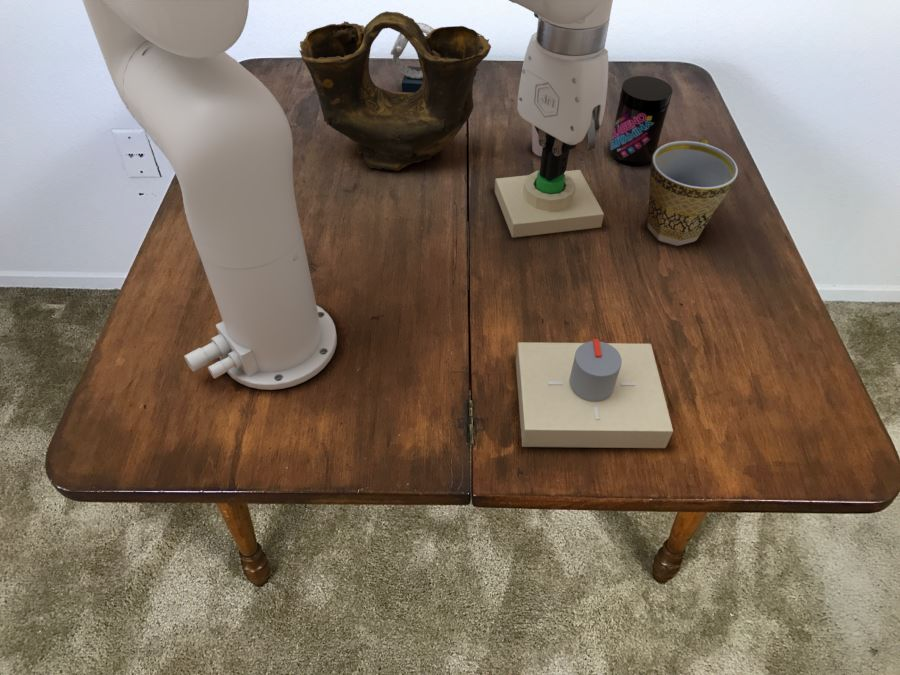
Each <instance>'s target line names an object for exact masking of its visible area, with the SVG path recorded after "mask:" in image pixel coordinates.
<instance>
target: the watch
mask: <svg viewBox="0 0 900 675" xmlns="http://www.w3.org/2000/svg"><path fill="white" fill-rule="evenodd" d="M416 23H417V24H418V25H419V26H420V29H421V30H422V32H423V34H425V35H426V34H429V33H430V32H431V31H432V30H434V29H435V28H434V27H432V26H430V25H429V24H426V23H424V22H416ZM408 44H409V41H408V40H407V39H406V38H405V37H404V35H402V34H401V33H398V36H397V38H396V40H395V42H394V44H393V46H392V48H391V52H390V55H392V62H393V64H394V66H395V68H396V69H397V71H399V73H401V74H402V75H403V77H402V81H401V92H409V93H415V92H417V91H418V90H419V89H420V88H421V86H422V82H423V74H422V70H421V66H413V65H412V66H411V65H406V64H404V63H403V61H402V59H400V57H401V55H402V54H403V52H404V50H405V49H406V47H407V45H408Z"/></svg>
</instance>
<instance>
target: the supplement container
mask: <svg viewBox="0 0 900 675" xmlns="http://www.w3.org/2000/svg"><path fill="white" fill-rule="evenodd" d="M672 95H673V88H672V86H671V84H669V83H668V82H667V81H665V80H663V79H661V78H657V77H653V76H649V75H636V76H632V77H628V78H627V79H625V80H624V81H623V82H622V86H621V91H620V94H619V100H618V106H617V110H616V115H615V119H614V125H613V130H612V134H611V139H610V143H609V152H610V155H611V156H612V158H613V159H614V160H616V161H617V162H619V163H620V164H624V165H626V166H631V167H632V166H633V167H634V166H635V167H637V166H643V165H647V164H648V163H651V161H652V156H653V153H654V152H655V151H656V149H658V147H659V146H658V145H659V142H660V139H661V134H662V131H663V127H664V125H665V124H664V123H665V119H666V116H667V112H668V109H669V106H670V103H671V100H672Z"/></svg>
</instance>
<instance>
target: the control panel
mask: <svg viewBox="0 0 900 675" xmlns="http://www.w3.org/2000/svg"><path fill="white" fill-rule="evenodd" d="M584 343H585V342H531V341H530V342H528V341H527V342H523V341H522V342H520V341H519V342H517V345H516V346H517V347H516V353H515V371H516V372H515V373H516V383H517V384H516V385H517V398H518V399H517V400H518V409H519V424H520V437H521V438H520V439H521V447H522V448H599V449H600V448H601V449H602V448H604V449H605V448H607V449H610V448H611V449H666V448H667V446H668V444H669V442H670V440H671V438H672V436H673V433H674V429H673V425H672V421H671V417H670V413H669V409H668V404H667V401H666V396H665V394H664V390H663V386H662V381H661V377H660V373H659V370H658V366H657V362H656V358H655V354H654V350H653V346H652V343H623V342H622V343H621V342H620V343H619V342H618V343H615V342H606V343H607V344H609V345H611V346H613V347H614V348H615V349H616V350H617V351H618V352H619V354H620V356H621V359H622V364H621V368H620V371H619V374H618V377H617V381H616V384H615V387H614V390H613V393H612V394H611V395H610V396H609V397H608V398H606V399H604V400H602V401H588V400H585V399H582V398H580V397H579V396H577V395H576V394H575V393H574V392H573V390H572V389H571V387H570V382H569V380H570V375H571V370H572V366H573V362H574V357H575V353H576V350H577V349H578V347H580V346H581V345H582V344H584Z"/></svg>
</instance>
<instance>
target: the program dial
mask: <svg viewBox="0 0 900 675" xmlns="http://www.w3.org/2000/svg"><path fill="white" fill-rule="evenodd" d="M583 343H584V344H582V345H581V346H580V347H578V349H577V350H576V353H575V357H574V362H573V366H572V370H571V375H570V380H569V382H570V387H571V389H572V390H573V392H574V393H575V394H576V395H577V396H579V397H580V398H582V399H585V400H588V401H602V400H604V399H606V398H608V397H609V396H610V395H611V394H612V393H613V390H614V387H615V384H616V381H617V377H618V374H619V371H620V368H621V364H622V359H621V356H620V354H619V352H618V351H617V350H616V349H615V348H614V347H613V346H611V345H609V344H607V343H608V342H604V341H600V339H599V338H593V339H592V340H590V341H587V342H583Z"/></svg>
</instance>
